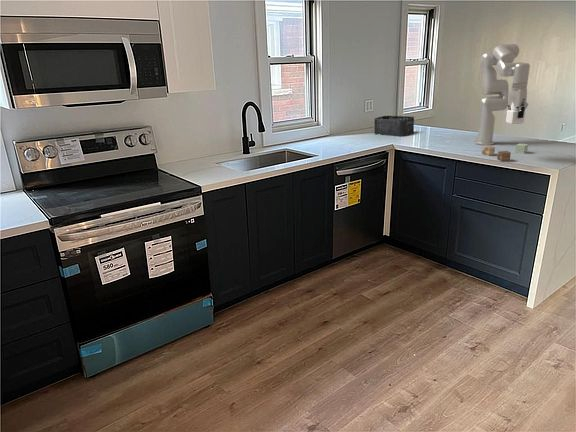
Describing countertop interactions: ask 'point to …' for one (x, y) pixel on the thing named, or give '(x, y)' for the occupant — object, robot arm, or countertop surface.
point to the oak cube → (488, 150)
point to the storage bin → (394, 125)
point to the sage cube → (521, 148)
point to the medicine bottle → (514, 116)
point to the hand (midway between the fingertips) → (515, 116)
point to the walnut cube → (503, 156)
